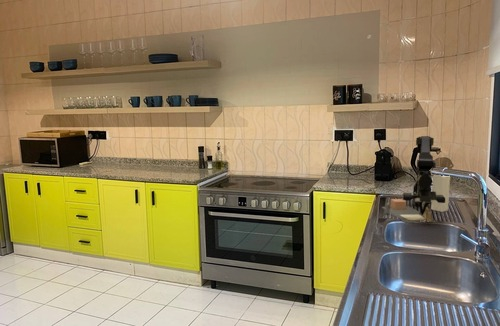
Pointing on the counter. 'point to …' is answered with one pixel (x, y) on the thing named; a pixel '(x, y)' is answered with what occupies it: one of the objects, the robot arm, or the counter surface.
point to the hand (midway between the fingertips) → (422, 214)
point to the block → (398, 204)
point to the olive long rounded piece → (389, 208)
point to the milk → (441, 192)
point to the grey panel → (408, 215)
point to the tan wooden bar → (427, 214)
